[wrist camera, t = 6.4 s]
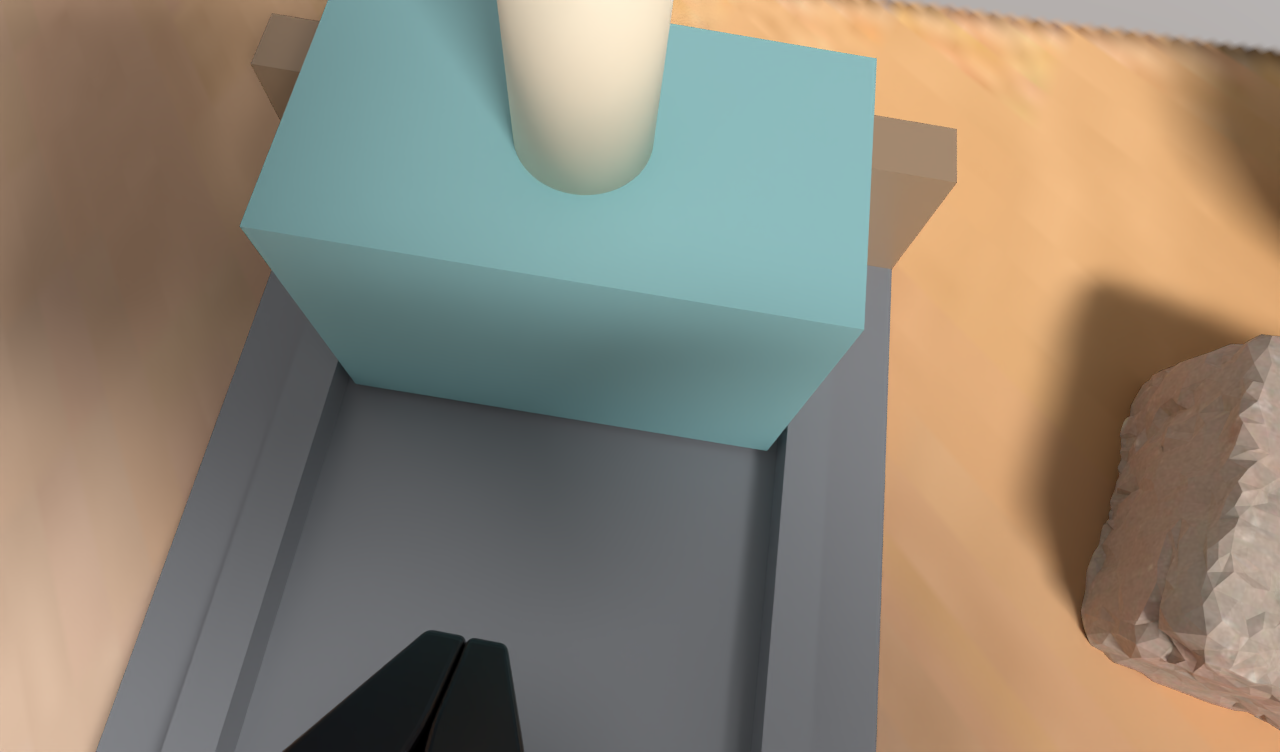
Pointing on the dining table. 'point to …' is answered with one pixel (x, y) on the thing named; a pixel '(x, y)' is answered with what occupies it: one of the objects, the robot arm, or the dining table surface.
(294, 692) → the track
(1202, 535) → the brick
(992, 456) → the dining table surface
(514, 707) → the robot arm
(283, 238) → the dowel block
